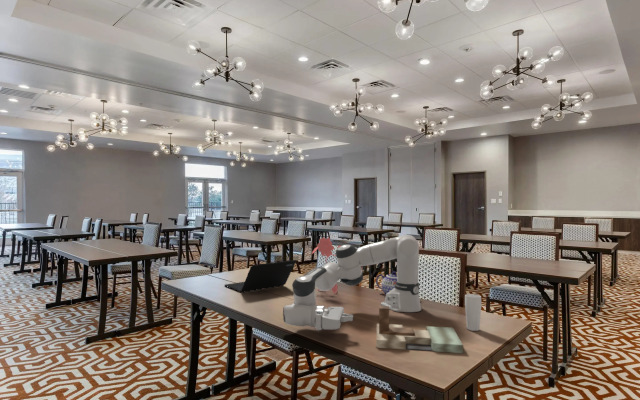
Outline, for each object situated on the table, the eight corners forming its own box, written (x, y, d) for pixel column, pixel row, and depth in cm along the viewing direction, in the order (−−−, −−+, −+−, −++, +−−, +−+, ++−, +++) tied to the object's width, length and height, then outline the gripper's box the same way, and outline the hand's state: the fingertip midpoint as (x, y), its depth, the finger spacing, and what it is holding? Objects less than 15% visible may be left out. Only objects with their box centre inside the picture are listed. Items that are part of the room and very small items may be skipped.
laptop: (266, 280, 271) (266, 254, 272) (296, 290, 242) (296, 260, 243) (223, 286, 251) (223, 257, 251) (250, 297, 221) (251, 265, 222)
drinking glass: (467, 326, 171) (467, 293, 171) (483, 329, 167) (483, 295, 167) (462, 329, 166) (462, 295, 166) (478, 333, 161) (478, 298, 162)
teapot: (370, 294, 230) (370, 270, 231) (383, 290, 242) (383, 267, 242) (406, 301, 214) (406, 275, 214) (418, 296, 225) (418, 272, 225)
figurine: (316, 287, 248) (316, 235, 247) (348, 293, 231) (348, 237, 231) (301, 292, 236) (300, 237, 235) (333, 299, 219) (333, 239, 219)
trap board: (376, 347, 144) (376, 339, 144) (376, 330, 164) (376, 323, 164) (463, 353, 139) (463, 345, 139) (452, 334, 159) (452, 327, 159)
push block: (379, 333, 151) (379, 308, 151) (379, 328, 157) (379, 305, 157) (414, 335, 149) (414, 310, 149) (413, 330, 155) (413, 306, 155)
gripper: (323, 316, 168) (354, 318, 166) (316, 331, 148) (351, 333, 146) (323, 302, 168) (354, 303, 166) (316, 315, 148) (351, 317, 146)
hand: (352, 317), depth 156 cm, fingers closed
